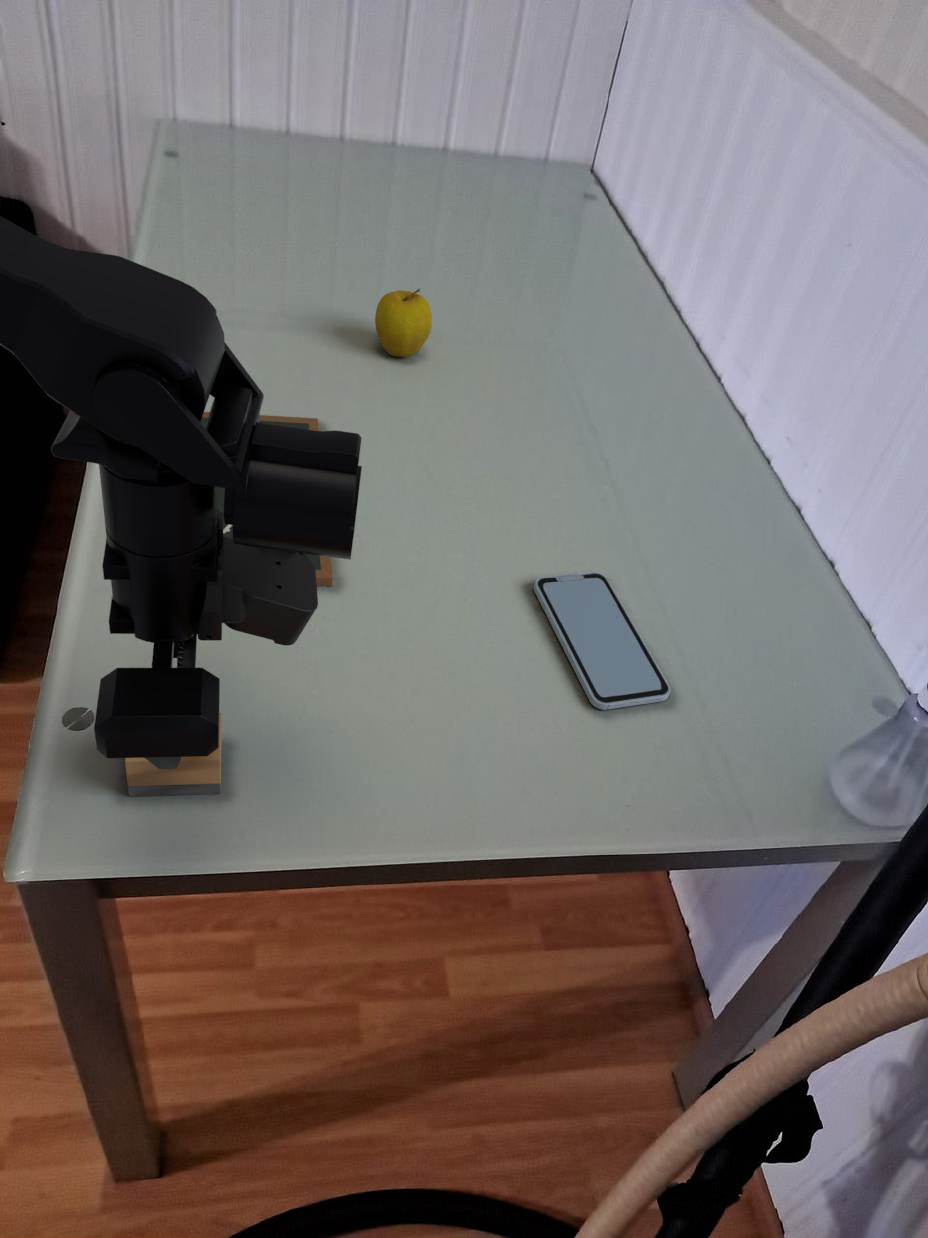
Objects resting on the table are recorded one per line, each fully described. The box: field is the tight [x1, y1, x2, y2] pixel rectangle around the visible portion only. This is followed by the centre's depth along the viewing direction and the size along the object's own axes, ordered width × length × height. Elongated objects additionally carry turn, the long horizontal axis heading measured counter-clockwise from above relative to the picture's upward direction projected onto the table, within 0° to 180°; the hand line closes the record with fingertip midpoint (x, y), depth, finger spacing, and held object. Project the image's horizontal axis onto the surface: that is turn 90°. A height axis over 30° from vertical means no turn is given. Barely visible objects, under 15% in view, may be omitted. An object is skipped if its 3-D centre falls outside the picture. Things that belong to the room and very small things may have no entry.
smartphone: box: [533, 571, 672, 711], centre depth 83 cm, size 7×1×15 cm
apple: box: [374, 288, 433, 358], centre depth 110 cm, size 6×6×8 cm
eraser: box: [124, 711, 222, 798], centre depth 65 cm, size 6×4×4 cm, turn 99°
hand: (171, 708), depth 62 cm, fingers open, 9 cm apart
